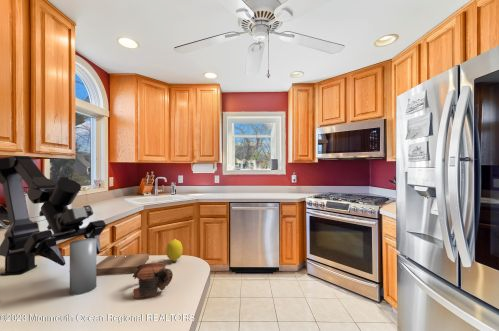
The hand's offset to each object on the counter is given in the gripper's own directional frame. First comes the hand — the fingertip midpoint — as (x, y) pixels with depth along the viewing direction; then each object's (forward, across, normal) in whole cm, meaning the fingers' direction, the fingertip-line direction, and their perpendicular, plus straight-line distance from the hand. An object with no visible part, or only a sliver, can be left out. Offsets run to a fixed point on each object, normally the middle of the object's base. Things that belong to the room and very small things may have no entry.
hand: (82, 258), depth 64 cm
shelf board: (+3, +15, +8) cm, 17 cm away
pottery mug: (+20, +7, -7) cm, 22 cm away
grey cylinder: (+6, 0, +6) cm, 8 cm away
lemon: (+13, +25, -1) cm, 28 cm away
